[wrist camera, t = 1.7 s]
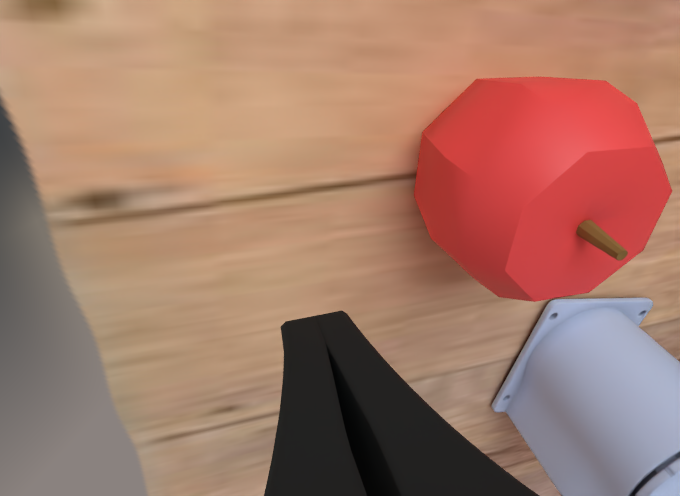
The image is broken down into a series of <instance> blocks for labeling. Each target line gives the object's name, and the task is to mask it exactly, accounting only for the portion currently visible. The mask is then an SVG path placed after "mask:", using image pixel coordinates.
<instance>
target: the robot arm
mask: <svg viewBox="0 0 680 496" xmlns="http://www.w3.org/2000/svg"><path fill="white" fill-rule="evenodd" d="M652 306H653V302H652V301H651V300H650V299H649V298H593V299H555V300H552V301H550V302H549V303H548V304H547V306H546V308H545V309H544V311H543V313H542V315H541V317H540V318H539V320H538V322H537V324H536V326H535V327H534V329H533V331H532V333H531V335H530V336H529V338H528V340H527V342H526V344H525V345H524V347H523V349H522V351H521V353H520V354H519V356H518V358H517V360H516V362H515V364H514V365H513V367H512V369H511V371H510V373H509V374H508V376H507V378H506V380H505V382H504V383H503V385H502V387H501V389H500V391H499V392H498V394H497V396H496V398H495V400H494V401H493V403H492V409H493V410H494V411H495V412H506V413H507V414H508V416H509V417H510V419H511V421H512V422H513V424H514V425H515V427H516V428H517V430H518V431H519V433H520V434H521V436H522V437H523V439H524V440H525V442H526V443H527V445H528V446H529V448H530V449H531V451H532V452H533V454H534V455H535V457H536V458H537V460H538V461H539V463H540V464H541V466H542V467H543V469H544V470H545V472H546V473H547V475H548V476H549V478H550V479H551V481H552V482H553V484H554V485H555V487H556V488H557V490H558V491H559V492H560V494H561V495H562V496H680V362H679V361H678V360H677V359H676V358H674V357H673V356H672V355H671V354H670V353H669V352H667V351H666V350H665V349H664V348H663V347H662V346H661V345H659V344H658V343H657V342H656V341H655V340H654V339H652V338H651V337H650V336H649V335H648V334H647V333H645V332H644V331H643V330H642V329H641V328H640V327H639V325H640V323H641V322H642V320H643V319H644V318H645V316H646V315H647V313H648V312H649V311H650V309H651V308H652ZM281 332H282V340H283V348H284V372H283V385H282V395H281V405H280V413H279V420H278V426H277V432H276V438H275V444H274V450H273V456H272V461H271V466H270V471H269V476H268V480H267V485H266V489H265V494H264V496H539V495H538V494H536V493H535V492H533V491H532V490H531V489H529V488H528V487H526V486H525V485H524V484H522V483H521V482H519V481H518V480H517V479H516V478H514V477H513V476H512V475H510V474H509V473H508V472H506V471H505V470H504V469H503V468H501V467H500V466H499V465H497V464H496V463H495V462H494V461H492V460H491V459H490V458H489V457H487V456H486V455H485V454H484V453H482V452H481V451H480V450H479V449H478V448H476V447H475V446H474V445H473V444H472V443H470V442H469V441H468V440H467V439H466V438H464V437H463V436H462V435H461V434H460V433H459V432H457V431H456V430H455V429H454V428H453V427H452V426H451V425H450V424H449V423H447V422H446V421H445V420H444V419H443V418H442V417H441V416H440V415H439V414H438V413H437V412H436V411H434V410H433V409H432V408H431V407H430V406H429V405H428V404H427V403H426V402H425V401H424V400H423V399H422V398H421V397H420V396H419V395H418V394H417V393H416V392H415V391H414V390H413V389H412V388H411V387H410V386H409V385H408V384H407V383H406V382H405V381H404V380H403V379H402V378H401V377H400V376H399V375H398V374H397V373H396V372H395V370H394V369H393V368H392V367H391V366H390V365H389V364H388V363H387V362H386V361H385V360H384V359H383V357H382V356H381V355H380V354H379V353H378V352H377V351H376V349H375V348H374V347H373V346H372V345H371V344H370V342H369V341H368V340H367V339H366V338H365V336H364V335H363V334H362V333H361V332H360V330H359V329H358V328H357V326H356V325H355V324H354V323H353V321H352V320H351V319H350V317H349V316H348V314H346V313H345V312H343V311H338V312H333V313H328V314H323V315H317V316H312V317H307V318H302V319H297V320H292V321H287V322H285V323H284V324H283V325H282V326H281Z"/></svg>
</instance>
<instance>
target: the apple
mask: <svg viewBox="0 0 680 496" xmlns="http://www.w3.org/2000/svg"><path fill="white" fill-rule="evenodd" d="M671 192H672V189H671V186H670V183H669V181H668V178H667V175H666V172H665V169H664V166H663V163H662V160H661V158H660V156H659V153H658V151H657V149H656V147H655V144H654V142H653V140H652V137H651V135H650V133H649V130H648V128H647V126H646V123H645V121H644V119H643V116H642V114H641V112H640V109H639V107H638V105H637V103H636V102H634V101H633V100H631V99H630V98H629V97H627V96H626V95H625V94H623V93H622V92H620V91H619V90H618V89H616V88H615V87H614V86H612V85H611V84H609V83H608V82H607V81H601V80H585V79H568V78H552V77H518V78H490V79H476V80H475V81H474V82H473V83H472V84H471V85H470V86H469V87H468V88H467V89H466V90H465V91H464V92H463V93H462V94H461V95H460V96H459V97H458V98H457V99H456V100H455V101H454V102H453V103H452V104H451V105H450V106H449V107H448V108H446V109H445V110H444V111H443V112H442V113H441V114H440V115H439V116H438V117H437V118H436V119H435V120H434V121H433V122H432V123H431V124H430V125H429V126H428V127H427V128H426V129H425V130H424V131H423V132H422V139H421V146H420V153H419V161H418V168H417V176H416V183H415V190H414V197H415V199H416V202H417V204H418V207H419V209H420V212H421V214H422V217H423V219H424V222H425V224H426V227H427V229H428V232H429V234H430V237H431V239H432V240H433V241H434V242H435V243H437V244H438V245H439V246H440V247H441V248H442V249H443V250H444V251H445V252H446V253H447V254H448V255H449V256H450V257H451V258H453V259H454V260H455V261H456V262H457V263H458V264H459V265H460V266H461V267H462V268H463V269H464V270H465V271H466V272H467V273H468V274H470V275H471V276H472V277H473V278H474V279H475V280H477V281H478V282H479V283H481V284H482V285H483V286H485V287H486V288H487V289H489V290H490V291H492V292H493V293H494V294H496V295H497V296H498V297H503V298H511V299H518V300H526V301H534V302H535V301H541V300H547V299H553V298H559V297H565V296H570V295H576V294H582V293H588V292H590V291H592V290H593V289H594V288H595V287H597V286H598V285H599V284H600V283H602V282H603V281H604V280H606V279H607V278H608V277H609V276H611V275H612V274H613V273H615V272H616V271H617V270H618V269H620V268H621V267H622V266H623V265H625V264H626V263H627V262H629V261H630V260H631V259H632V258H634V257H635V256H636V255H638V254H639V253H640V252H641V251H643V250H644V248H645V246H646V244H647V241H648V239H649V237H650V235H651V233H652V231H653V229H654V227H655V225H656V223H657V221H658V219H659V217H660V215H661V213H662V211H663V209H664V207H665V205H666V203H667V201H668V199H669V196H670V194H671Z"/></svg>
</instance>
